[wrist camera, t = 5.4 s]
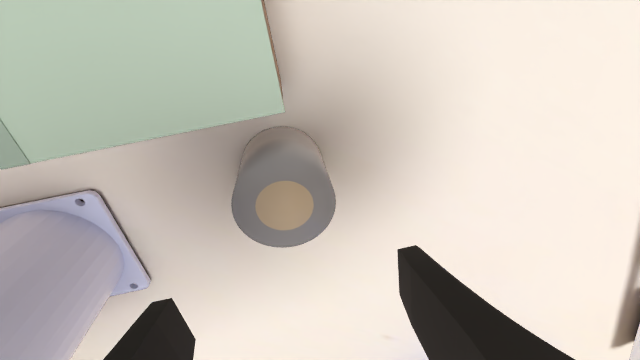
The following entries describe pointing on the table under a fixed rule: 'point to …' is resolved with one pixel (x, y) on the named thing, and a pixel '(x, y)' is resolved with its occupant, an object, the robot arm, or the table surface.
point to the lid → (127, 72)
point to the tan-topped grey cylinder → (282, 189)
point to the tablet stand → (636, 347)
